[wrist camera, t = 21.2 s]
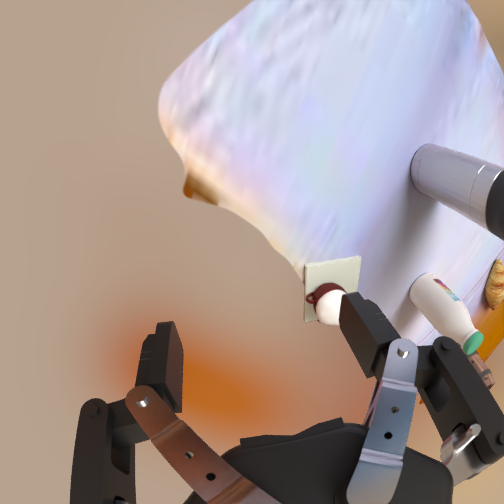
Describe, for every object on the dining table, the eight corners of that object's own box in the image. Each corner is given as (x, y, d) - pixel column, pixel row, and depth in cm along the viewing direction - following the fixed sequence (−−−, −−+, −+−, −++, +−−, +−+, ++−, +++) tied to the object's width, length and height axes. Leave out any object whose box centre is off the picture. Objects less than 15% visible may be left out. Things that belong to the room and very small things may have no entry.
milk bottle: (409, 306, 55) (458, 368, 38) (407, 282, 52) (464, 346, 34) (434, 290, 55) (485, 346, 37) (434, 265, 51) (493, 322, 33)
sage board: (358, 255, 46) (361, 258, 45) (351, 308, 52) (353, 311, 51) (304, 264, 45) (306, 267, 45) (303, 318, 51) (305, 322, 50)
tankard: (475, 342, 74) (503, 377, 57) (445, 374, 79) (469, 411, 61) (463, 324, 65) (499, 366, 48) (426, 362, 70) (456, 408, 52)
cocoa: (296, 294, 47) (314, 344, 37) (320, 267, 45) (346, 314, 35) (333, 314, 51) (354, 362, 40) (356, 291, 48) (383, 336, 38)
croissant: (481, 256, 58) (489, 276, 53) (508, 248, 53) (518, 267, 47) (479, 303, 68) (484, 322, 62) (503, 296, 62) (509, 314, 57)
